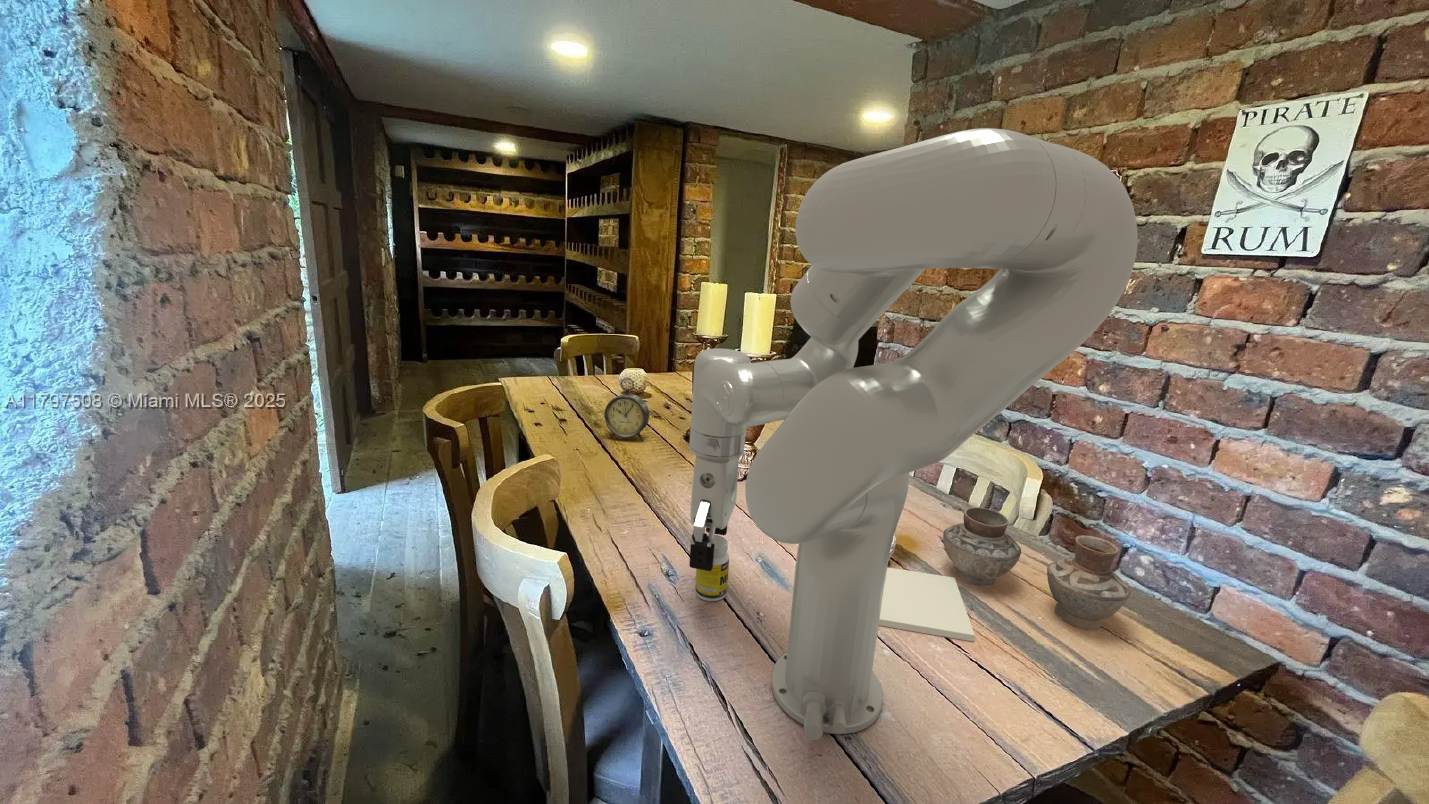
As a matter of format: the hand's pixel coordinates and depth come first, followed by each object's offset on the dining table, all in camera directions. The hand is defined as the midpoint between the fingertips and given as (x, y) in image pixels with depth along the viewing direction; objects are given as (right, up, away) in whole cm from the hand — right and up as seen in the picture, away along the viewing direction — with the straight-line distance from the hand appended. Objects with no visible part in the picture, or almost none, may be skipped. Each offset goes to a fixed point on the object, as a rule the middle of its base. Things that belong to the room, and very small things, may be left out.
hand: (708, 549), depth 81 cm
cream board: (+30, -8, +1) cm, 31 cm away
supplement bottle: (0, -7, +1) cm, 7 cm away
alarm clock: (-22, +12, +65) cm, 69 cm away
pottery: (+48, -8, +4) cm, 49 cm away
